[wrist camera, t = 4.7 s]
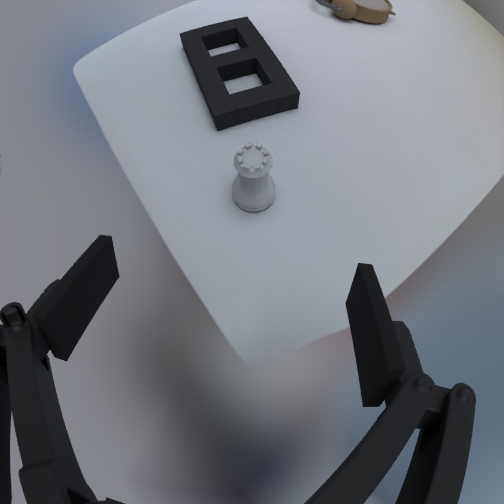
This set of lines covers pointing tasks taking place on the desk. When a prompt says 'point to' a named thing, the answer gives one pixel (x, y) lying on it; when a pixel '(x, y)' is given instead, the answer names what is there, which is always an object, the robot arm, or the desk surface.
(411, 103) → the desk surface
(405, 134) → the desk surface
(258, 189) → the rook chess piece
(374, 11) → the alarm clock
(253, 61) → the socket pad
